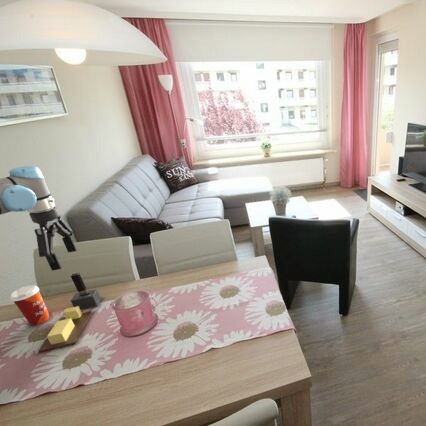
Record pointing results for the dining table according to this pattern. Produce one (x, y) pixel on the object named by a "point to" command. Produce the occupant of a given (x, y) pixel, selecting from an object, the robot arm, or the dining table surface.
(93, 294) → the dark grey block
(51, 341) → the butter stick
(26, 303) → the coffee cup
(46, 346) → the butter board
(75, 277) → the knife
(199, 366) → the dining table surface
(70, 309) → the butter pat
